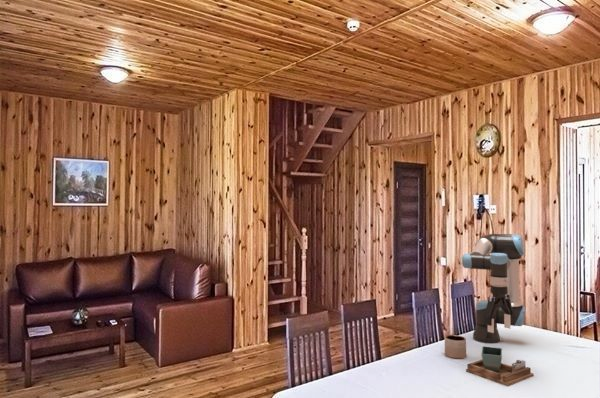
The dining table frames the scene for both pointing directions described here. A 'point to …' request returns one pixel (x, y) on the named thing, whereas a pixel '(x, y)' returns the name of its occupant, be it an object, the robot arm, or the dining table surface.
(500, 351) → the flower pot
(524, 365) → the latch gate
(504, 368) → the frame
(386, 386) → the dining table surface
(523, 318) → the robot arm
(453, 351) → the planter
